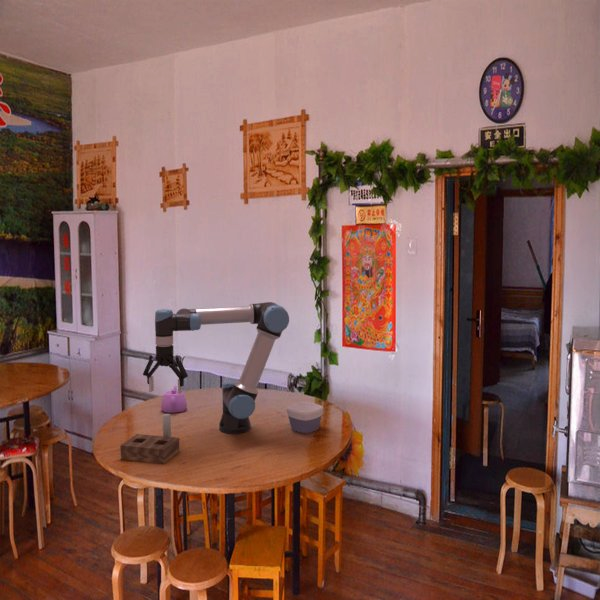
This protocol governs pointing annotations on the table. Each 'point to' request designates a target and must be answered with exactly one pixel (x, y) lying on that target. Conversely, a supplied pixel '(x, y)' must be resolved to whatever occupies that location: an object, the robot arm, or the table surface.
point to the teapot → (173, 401)
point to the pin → (167, 425)
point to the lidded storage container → (304, 416)
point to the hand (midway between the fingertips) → (165, 392)
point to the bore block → (150, 448)
